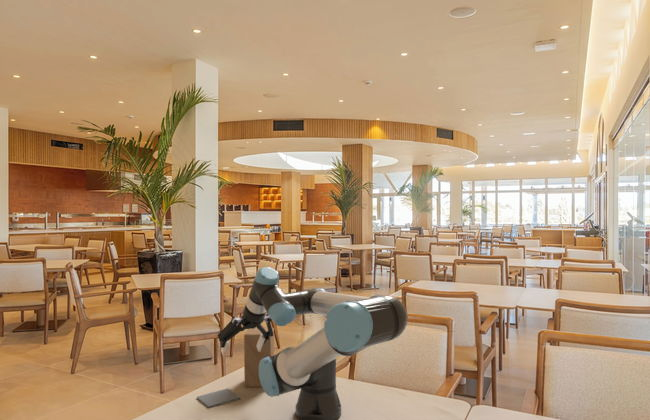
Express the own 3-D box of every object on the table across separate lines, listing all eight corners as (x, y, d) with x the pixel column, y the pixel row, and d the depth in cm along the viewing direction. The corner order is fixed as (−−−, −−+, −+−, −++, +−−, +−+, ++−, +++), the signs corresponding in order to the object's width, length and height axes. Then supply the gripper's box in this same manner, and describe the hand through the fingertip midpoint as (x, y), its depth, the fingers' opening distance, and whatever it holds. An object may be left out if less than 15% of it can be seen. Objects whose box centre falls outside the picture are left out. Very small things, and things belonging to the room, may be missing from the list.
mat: (240, 398, 166) (240, 397, 166) (208, 408, 159) (208, 406, 159) (227, 389, 174) (227, 388, 174) (196, 398, 166) (196, 396, 166)
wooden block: (270, 387, 176) (270, 334, 175) (244, 387, 176) (243, 334, 176) (274, 377, 186) (273, 327, 185) (249, 377, 186) (248, 327, 186)
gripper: (285, 298, 168) (269, 339, 178) (218, 301, 155) (204, 345, 165) (292, 312, 163) (275, 355, 172) (223, 317, 150) (209, 362, 159)
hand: (240, 350), depth 169 cm, fingers open, 13 cm apart
